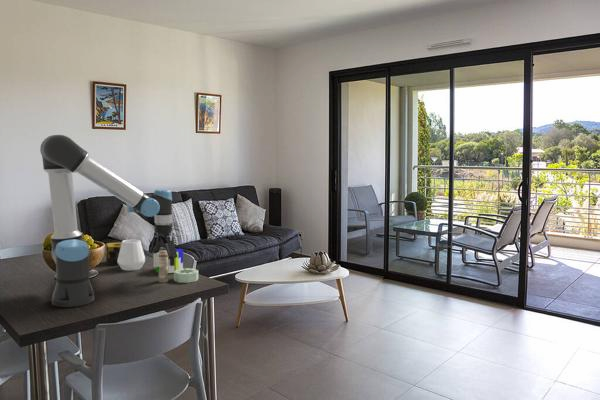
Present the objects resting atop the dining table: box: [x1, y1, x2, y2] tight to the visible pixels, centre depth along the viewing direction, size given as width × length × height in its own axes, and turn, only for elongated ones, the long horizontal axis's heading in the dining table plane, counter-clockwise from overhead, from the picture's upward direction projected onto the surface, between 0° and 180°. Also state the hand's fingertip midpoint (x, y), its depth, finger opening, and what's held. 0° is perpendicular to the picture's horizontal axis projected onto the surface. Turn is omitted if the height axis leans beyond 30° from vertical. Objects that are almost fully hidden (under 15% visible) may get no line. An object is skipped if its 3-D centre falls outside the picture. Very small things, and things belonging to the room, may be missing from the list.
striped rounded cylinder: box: [158, 249, 169, 283], centre depth 218 cm, size 4×4×14 cm
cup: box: [117, 239, 146, 272], centre depth 239 cm, size 13×13×14 cm
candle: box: [105, 242, 122, 267], centre depth 250 cm, size 10×10×10 cm
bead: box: [173, 267, 199, 284], centre depth 222 cm, size 10×10×4 cm
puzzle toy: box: [155, 247, 184, 274], centre depth 238 cm, size 10×10×10 cm
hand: (163, 269), depth 218 cm, fingers open, 13 cm apart
